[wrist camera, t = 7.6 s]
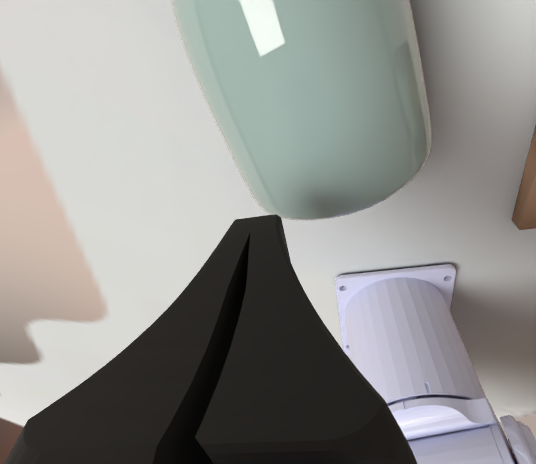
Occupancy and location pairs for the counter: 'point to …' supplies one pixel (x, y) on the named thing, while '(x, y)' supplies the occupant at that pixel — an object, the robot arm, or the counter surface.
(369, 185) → the cup
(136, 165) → the counter surface
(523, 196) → the board
